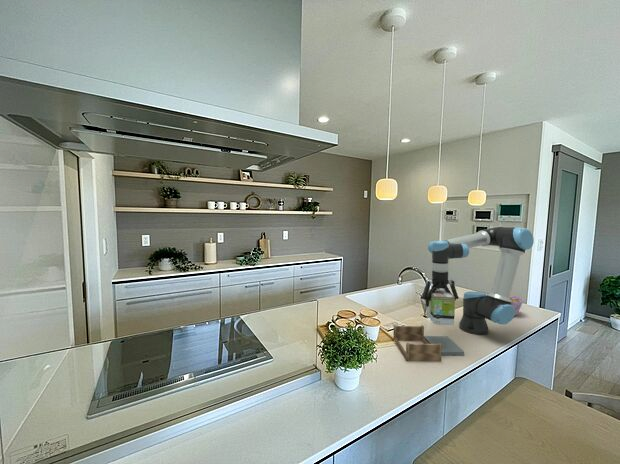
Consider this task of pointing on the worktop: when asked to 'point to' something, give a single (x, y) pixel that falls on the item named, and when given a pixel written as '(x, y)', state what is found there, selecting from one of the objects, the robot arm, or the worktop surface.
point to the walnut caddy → (416, 350)
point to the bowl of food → (516, 303)
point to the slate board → (445, 345)
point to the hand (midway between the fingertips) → (439, 312)
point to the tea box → (442, 307)
